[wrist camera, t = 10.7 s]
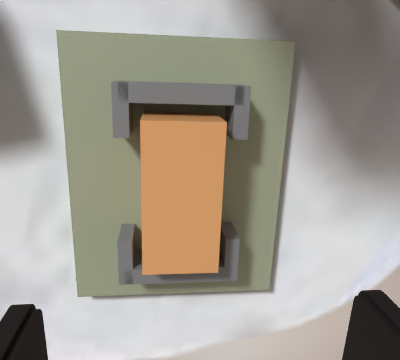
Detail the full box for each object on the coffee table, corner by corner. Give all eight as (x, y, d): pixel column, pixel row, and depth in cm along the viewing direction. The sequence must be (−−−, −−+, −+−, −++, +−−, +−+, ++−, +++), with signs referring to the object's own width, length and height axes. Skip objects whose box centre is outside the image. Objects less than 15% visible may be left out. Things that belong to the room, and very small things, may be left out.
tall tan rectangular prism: (143, 110, 25) (140, 120, 20) (214, 112, 25) (227, 122, 20) (145, 239, 27) (142, 274, 23) (208, 238, 28) (218, 272, 23)
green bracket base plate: (62, 32, 24) (41, 24, 20) (288, 43, 26) (313, 37, 21) (81, 286, 30) (68, 322, 25) (264, 279, 32) (280, 312, 27)
